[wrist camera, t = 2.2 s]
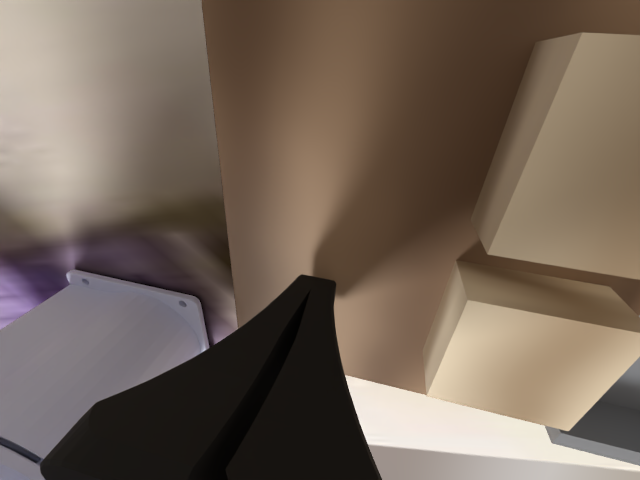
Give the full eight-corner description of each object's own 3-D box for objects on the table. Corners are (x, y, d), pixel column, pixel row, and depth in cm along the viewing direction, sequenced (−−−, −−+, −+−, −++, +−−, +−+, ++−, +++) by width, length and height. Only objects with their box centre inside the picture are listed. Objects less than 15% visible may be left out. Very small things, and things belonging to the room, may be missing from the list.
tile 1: (422, 350, 12) (426, 396, 10) (455, 259, 10) (467, 300, 8) (543, 377, 11) (568, 431, 10) (609, 286, 9) (658, 336, 7)
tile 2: (470, 219, 9) (487, 254, 7) (535, 42, 7) (582, 32, 5) (640, 245, 8) (702, 290, 7) (779, 55, 6) (932, 49, 4)
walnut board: (263, 308, 17) (240, 349, 15) (246, -73, 9) (187, -129, 7) (521, 364, 15) (546, 424, 12) (806, -75, 7) (1048, -161, 4)
